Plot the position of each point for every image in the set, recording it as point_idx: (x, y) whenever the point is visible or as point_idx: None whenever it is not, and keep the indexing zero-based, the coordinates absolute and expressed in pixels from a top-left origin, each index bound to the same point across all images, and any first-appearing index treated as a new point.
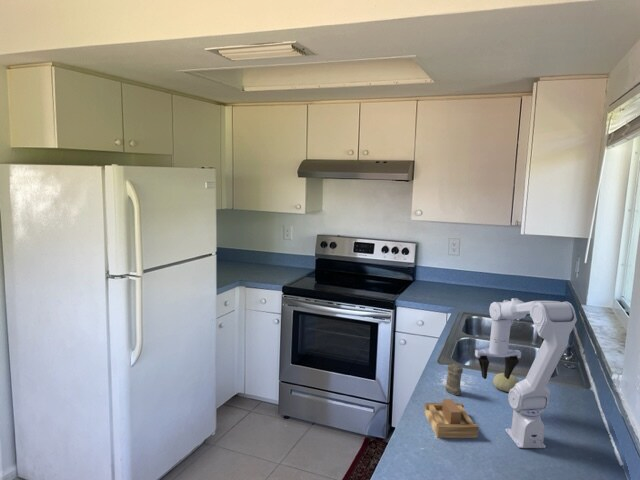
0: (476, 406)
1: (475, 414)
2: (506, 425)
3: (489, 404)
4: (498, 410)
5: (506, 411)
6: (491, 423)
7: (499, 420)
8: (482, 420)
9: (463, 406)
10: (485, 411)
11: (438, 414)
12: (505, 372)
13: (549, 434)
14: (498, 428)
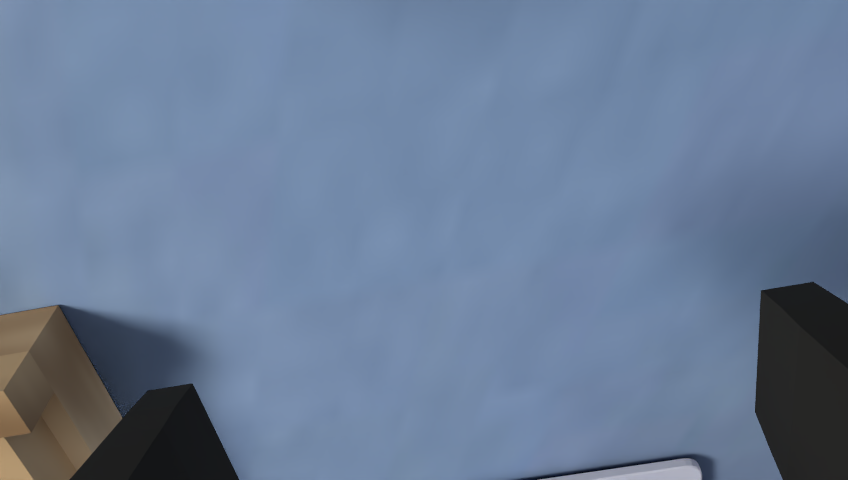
0: (237, 119)
1: (217, 297)
2: (503, 418)
3: (424, 26)
4: (507, 162)
5: (602, 167)
6: (365, 413)
7: (458, 355)
8: (283, 384)
9: (36, 421)
10: (339, 216)
11: None
12: (820, 406)
13: None
14: (413, 468)
